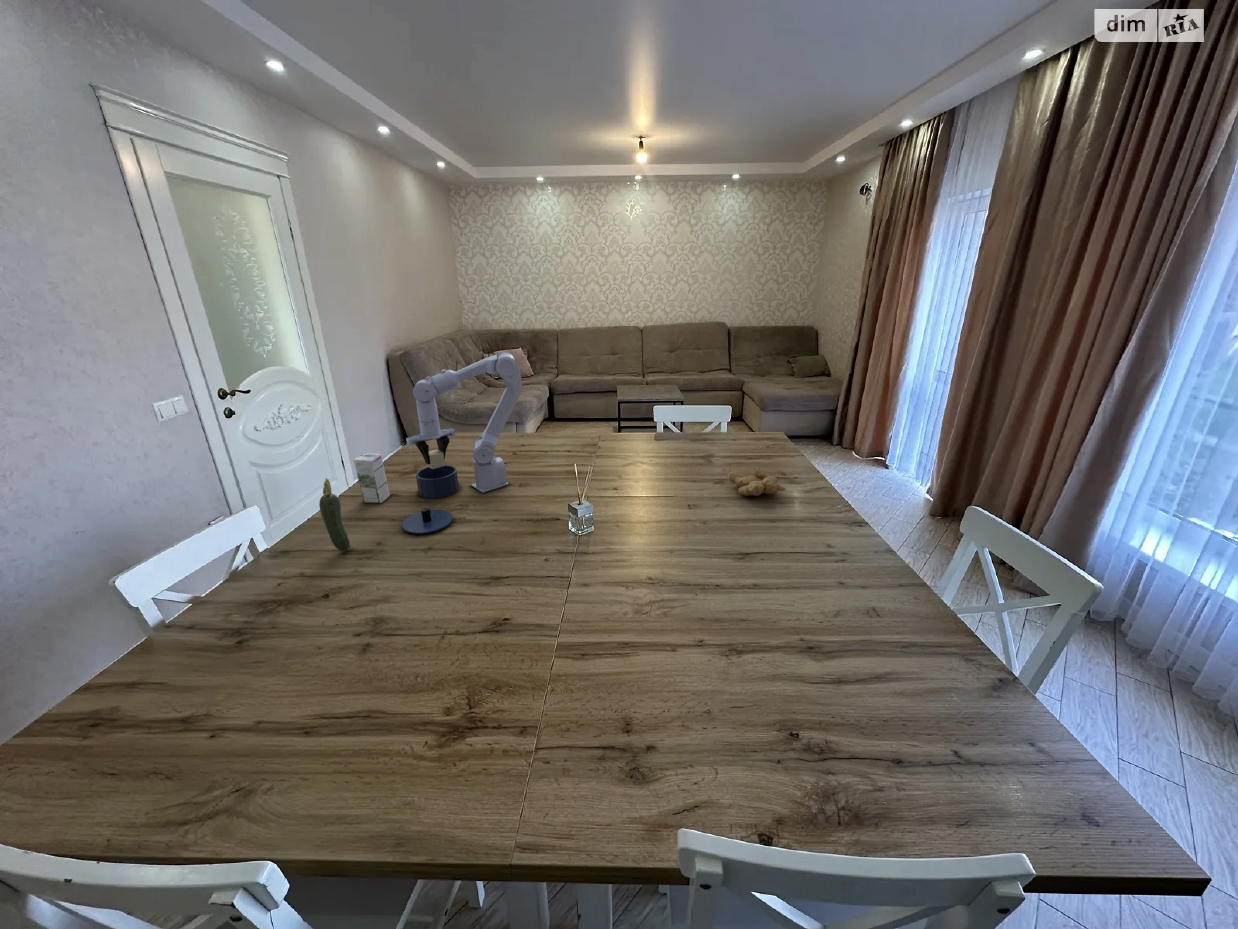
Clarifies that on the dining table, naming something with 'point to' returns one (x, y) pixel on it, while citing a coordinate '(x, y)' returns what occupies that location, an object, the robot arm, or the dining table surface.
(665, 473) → the dining table surface
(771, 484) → the ginger root
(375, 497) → the syrup box
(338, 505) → the vegetable
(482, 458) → the robot arm
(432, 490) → the pot
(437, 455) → the block
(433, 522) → the lid
